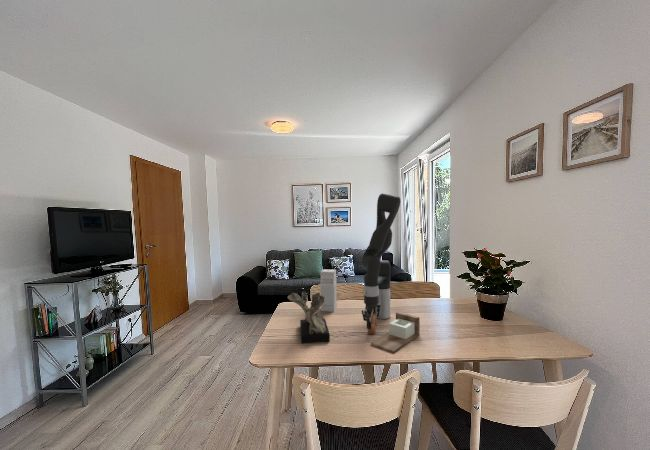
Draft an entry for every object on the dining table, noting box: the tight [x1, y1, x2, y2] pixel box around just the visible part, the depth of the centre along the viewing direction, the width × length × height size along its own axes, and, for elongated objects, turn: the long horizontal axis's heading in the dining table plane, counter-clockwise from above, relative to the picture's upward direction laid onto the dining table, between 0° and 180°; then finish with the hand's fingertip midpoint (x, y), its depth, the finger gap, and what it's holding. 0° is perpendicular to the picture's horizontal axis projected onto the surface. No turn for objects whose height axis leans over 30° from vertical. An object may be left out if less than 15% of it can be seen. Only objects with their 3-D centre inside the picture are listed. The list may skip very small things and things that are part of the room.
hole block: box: [388, 318, 415, 339], centre depth 140 cm, size 9×9×6 cm
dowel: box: [367, 313, 377, 335], centre depth 144 cm, size 4×4×10 cm
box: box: [319, 268, 338, 313], centre depth 182 cm, size 8×8×25 cm
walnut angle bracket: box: [370, 311, 421, 354], centre depth 136 cm, size 12×25×9 cm, turn 136°
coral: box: [287, 291, 331, 344], centre depth 143 cm, size 25×20×22 cm
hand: (371, 327), depth 144 cm, fingers closed on dowel, 4 cm apart
